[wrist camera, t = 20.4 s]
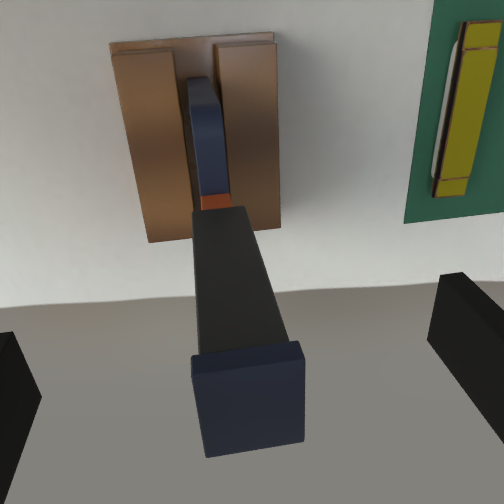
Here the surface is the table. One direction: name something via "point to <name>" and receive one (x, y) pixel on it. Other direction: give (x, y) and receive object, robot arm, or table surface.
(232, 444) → the racket
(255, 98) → the stand
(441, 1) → the mat
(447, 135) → the harmonica
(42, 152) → the table surface
